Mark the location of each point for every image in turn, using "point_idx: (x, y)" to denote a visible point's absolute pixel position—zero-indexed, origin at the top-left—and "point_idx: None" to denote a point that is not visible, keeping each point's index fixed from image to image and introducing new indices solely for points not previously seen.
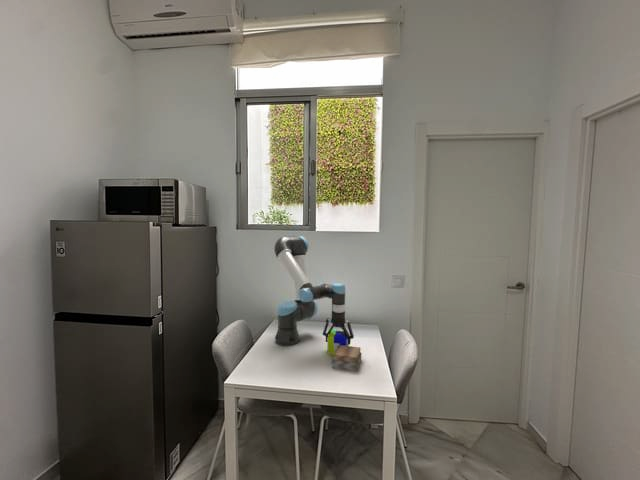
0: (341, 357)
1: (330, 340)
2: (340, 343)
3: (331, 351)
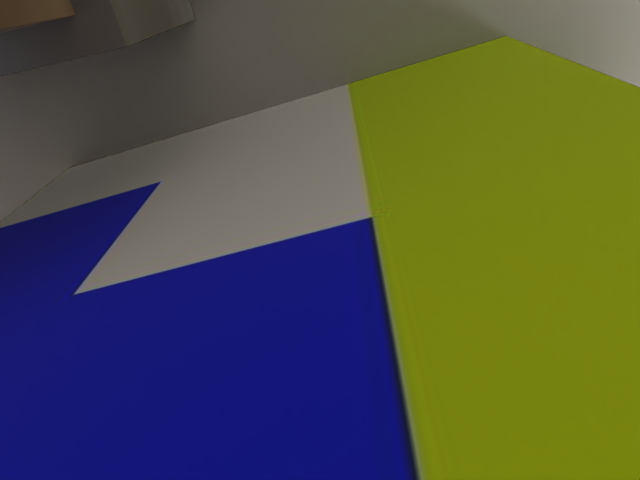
0: None
1: (637, 234)
2: (27, 310)
3: (415, 81)
